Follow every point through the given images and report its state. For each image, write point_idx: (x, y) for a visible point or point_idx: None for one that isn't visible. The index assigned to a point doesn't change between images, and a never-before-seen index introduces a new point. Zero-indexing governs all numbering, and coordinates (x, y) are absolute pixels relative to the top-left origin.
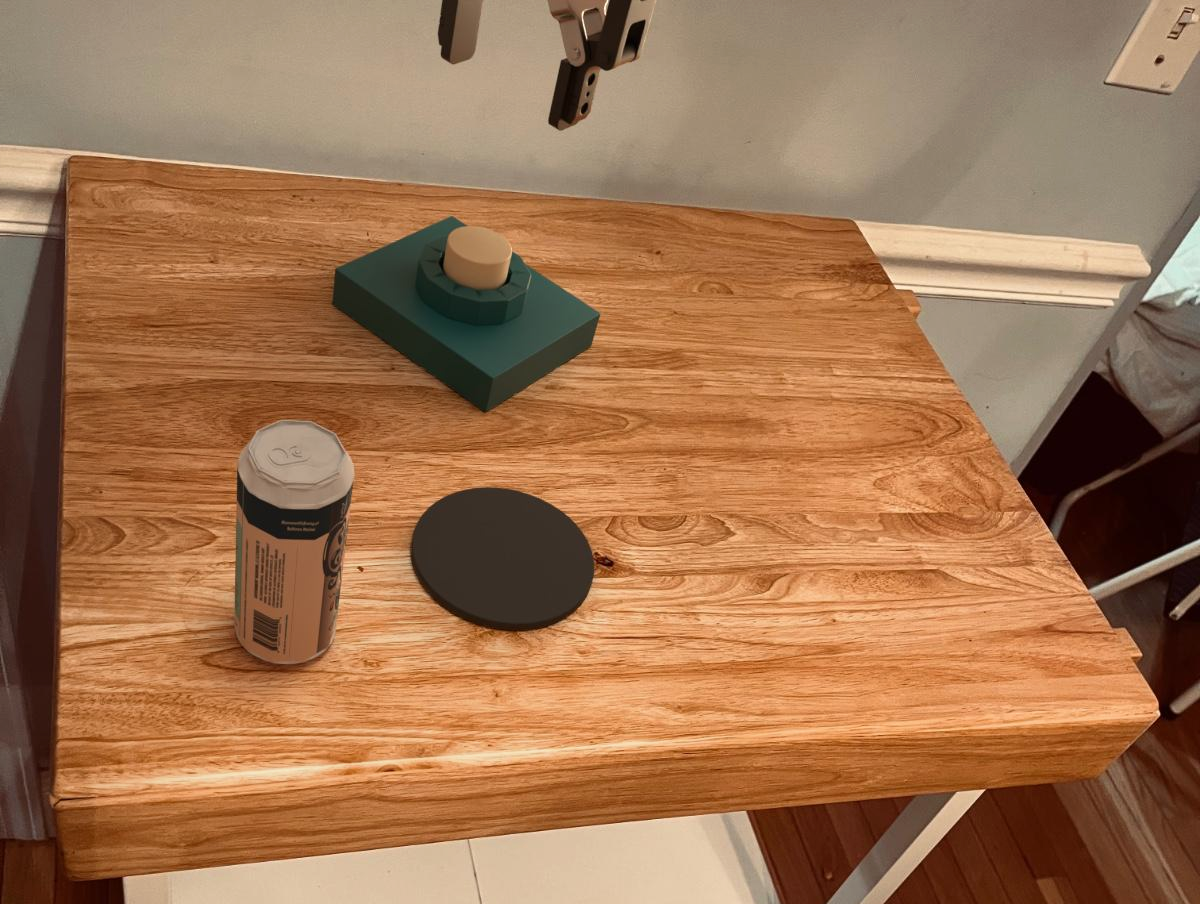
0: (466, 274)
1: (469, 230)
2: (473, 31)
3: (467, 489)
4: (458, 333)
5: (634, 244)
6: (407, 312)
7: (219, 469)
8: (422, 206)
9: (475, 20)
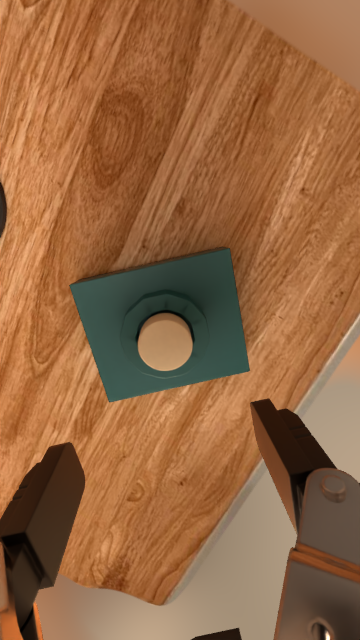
0: (150, 320)
1: (185, 349)
2: (268, 464)
3: (2, 213)
4: (124, 292)
5: (195, 475)
6: (160, 269)
7: (91, 54)
8: (290, 371)
9: (275, 479)
